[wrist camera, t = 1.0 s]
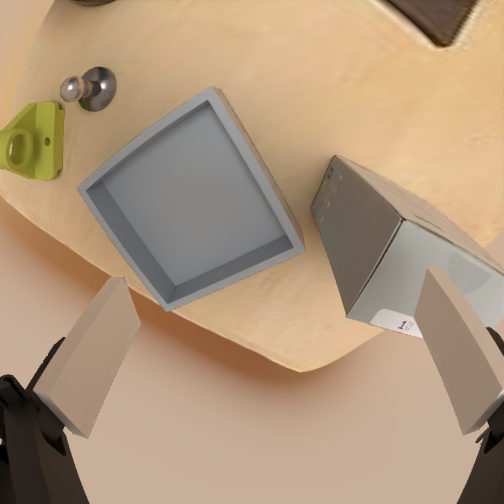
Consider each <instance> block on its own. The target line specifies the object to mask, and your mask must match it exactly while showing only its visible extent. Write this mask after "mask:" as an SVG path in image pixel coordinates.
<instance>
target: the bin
mask: <svg viewBox="0 0 504 504" xmlns="http://www.w3.org/2000/svg"><path fill="white" fill-rule="evenodd" d="M77 190H78V191H79V193H80V195H81V196H82V198H83V199H84V201H85V202H86V204H87V205H88V207H89V209H90V210H91V212H92V213H93V215H94V216H95V218H96V219H97V221H98V222H99V224H100V225H101V226H102V228H103V229H104V231H105V232H106V234H107V235H108V237H109V238H110V239H111V241H112V242H113V244H114V245H115V246H116V248H117V249H118V251H119V252H120V253H121V255H122V256H123V257H124V259H125V260H126V261H127V263H128V264H129V265H130V267H131V268H132V269H133V271H134V272H135V273H136V275H137V276H138V277H139V279H140V280H141V281H142V282H143V284H144V285H145V286H146V288H147V289H148V290H149V291H150V293H151V294H152V295H153V296H154V298H155V299H156V300H157V301H158V302H159V304H160V305H161V306H162V307H163V309H164V310H165V311H166V312H168V311H170V310H173V309H175V308H177V307H180V306H182V305H185V304H187V303H189V302H192V301H194V300H196V299H199V298H201V297H203V296H206V295H208V294H210V293H212V292H215V291H217V290H219V289H222V288H224V287H226V286H229V285H231V284H233V283H235V282H238V281H240V280H242V279H245V278H247V277H249V276H251V275H254V274H256V273H258V272H260V271H263V270H265V269H267V268H269V267H272V266H274V265H276V264H278V263H281V262H283V261H285V260H287V259H290V258H292V257H294V256H296V255H298V254H301V253H303V252H305V251H306V248H305V243H304V238H303V233H302V231H301V229H300V227H299V225H298V223H297V222H296V220H295V218H294V216H293V214H292V212H291V210H290V208H289V207H288V205H287V203H286V201H285V199H284V197H283V195H282V194H281V192H280V190H279V188H278V186H277V185H276V183H275V181H274V179H273V177H272V176H271V174H270V172H269V170H268V168H267V167H266V165H265V163H264V161H263V160H262V158H261V156H260V154H259V153H258V151H257V149H256V147H255V146H254V144H253V142H252V141H251V139H250V137H249V136H248V134H247V132H246V130H245V129H244V127H243V125H242V124H241V122H240V120H239V119H238V117H237V115H236V114H235V112H234V110H233V109H232V107H231V106H230V104H229V102H228V101H227V99H226V97H225V96H224V94H223V93H222V91H221V89H218V88H215V87H212V86H211V87H209V88H208V89H206V90H204V91H203V92H201V93H199V94H198V95H196V96H195V97H193V98H191V99H190V100H188V101H187V102H185V103H184V104H182V105H181V106H179V107H178V108H176V109H175V110H173V111H172V112H170V113H169V114H167V115H166V116H165V117H163V118H162V119H160V120H159V121H157V122H156V123H155V124H153V125H152V126H151V127H149V128H148V129H146V130H145V131H144V132H142V133H141V134H140V135H139V136H137V137H136V138H135V139H133V140H132V141H131V142H129V143H128V144H127V145H126V146H124V147H123V148H122V149H121V150H119V151H118V152H117V153H116V154H115V155H113V156H112V157H111V158H110V159H109V160H107V161H106V162H105V163H104V164H103V165H102V166H100V167H99V168H98V169H97V170H96V171H95V172H94V173H93V174H91V175H90V176H89V177H88V178H87V179H86V180H85V181H84V182H83V183H82V184H81V185H79V186H78V187H77Z"/></svg>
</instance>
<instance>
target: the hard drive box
mask: <svg viewBox="0 0 504 504" xmlns="http://www.w3.org/2000/svg"><path fill="white" fill-rule="evenodd" d="M311 209H312V212H313V215H314V217H315V220H316V223H317V226H318V229H319V231H320V235H321V237H322V240H323V243H324V246H325V249H326V252H327V255H328V258H329V261H330V264H331V267H332V270H333V273H334V276H335V280H336V283H337V286H338V289H339V292H340V296H341V299H342V302H343V306H344V309H345V312H346V318H348V319H352V320H356V321H360V322H363V323H366V324H369V325H372V326H376V327H380V328H383V329H387V330H392V331H395V332H399V333H402V334H406V335H410V336H414V337H418V338H422V339H424V338H423V336H422V334H421V332H420V330H419V328H418V326H417V324H416V322H415V320H414V318H413V316H414V313H415V310H416V306H417V303H418V300H419V296H420V293H421V289H422V286H423V282H424V278H425V274H426V270H427V268H429V267H442V268H443V270H444V271H445V272H446V273H447V275H448V276H449V277H450V279H451V280H452V281H453V282H454V284H455V285H456V286H457V288H458V289H459V290H460V292H461V293H462V294H463V296H464V297H465V299H466V300H467V301H468V303H469V304H470V305H471V307H472V308H473V310H474V311H475V313H476V314H477V316H478V317H479V318H480V320H481V321H482V323H483V324H484V326H485V327H491V328H492V329H493V330H494V329H495V328H496V326H497V325H498V324H499V323H500V321H501V320H502V319H503V317H504V268H503V266H501V265H500V264H499V263H498V262H497V261H496V260H495V259H494V258H493V257H492V256H491V255H490V254H489V253H488V252H487V251H486V250H485V249H484V248H483V247H481V246H480V245H479V244H478V243H477V242H476V241H475V240H474V239H473V238H471V237H470V236H469V235H468V234H467V233H466V232H465V231H463V230H462V229H461V228H460V227H459V226H457V225H456V224H455V223H454V222H453V221H451V220H450V219H449V218H448V217H446V216H445V215H444V214H443V213H441V212H440V211H439V210H438V209H436V208H435V207H434V206H432V205H431V204H429V203H427V202H426V201H424V200H422V199H421V198H419V197H417V196H416V195H414V194H412V193H410V192H408V191H407V190H405V189H403V188H401V187H400V186H398V185H396V184H394V183H392V182H391V181H389V180H387V179H385V178H383V177H381V176H379V175H377V174H375V173H374V172H372V171H370V170H368V169H366V168H364V167H362V166H360V165H358V164H356V163H353V162H351V161H349V160H347V159H345V158H343V157H341V156H339V155H336V156H335V157H333V159H332V161H331V164H330V166H329V168H328V170H327V173H326V175H325V177H324V180H323V182H322V184H321V187H320V189H319V191H318V193H317V196H316V198H315V200H314V203H313V205H312V208H311Z"/></svg>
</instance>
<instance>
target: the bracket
mask: <svg viewBox="0 0 504 504" xmlns="http://www.w3.org/2000/svg"><path fill="white" fill-rule="evenodd" d="M64 115H65V109H63V110H59V105H58V103H57V102H55V101H50V102H39V103H31V104H28V105H26V106H25V107H24V108H23V109H22V110H21V111H20V112H19V113H18V114H17V115H16V116H15V117H14V118H13V120H12V121H11V122H10V123H9V124H8V125H7V126H6V127H5V128H4V129H3V130H1V131H0V169H7V170H9V171H11V172H14V173H16V174H18V175H21V176H23V177H25V178H29V179H37V180H46V181H49V180H52V179H54V178H55V177H56V175H57V171H58V170H60V169H62V168H63V131H64ZM11 142H12V145H13V148H12V153H11V156H9V149H10V145H11Z"/></svg>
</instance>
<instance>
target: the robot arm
mask: <svg viewBox="0 0 504 504" xmlns="http://www.w3.org/2000/svg"><path fill="white" fill-rule="evenodd" d="M71 1H73V2H76V3H78V4H81V5H85V6H97V5H102V4H106V3H109V2H111V1H114V0H71ZM413 318H414V320H415V322H416V324H417V326H418V328H419V330H420V332H421V334H422V336H423V338H424V340H425V342H426V344H427V346H428V349H429V351H430V353H431V355H432V357H433V360H434V362H435V364H436V366H437V369H438V371H439V373H440V376H441V378H442V380H443V383H444V385H445V388H446V390H447V393H448V395H449V398H450V400H451V403H452V406H453V408H454V411H455V414H456V416H457V419H458V422H459V425H460V428H461V431H462V434H463V435H466V434H469V433H471V432H474V431H476V430H479V429H480V428H481V427H482V426H483V425H484V424H485V423H486V421H487V422H488V424H489V428H487V429H486V430H485V431H484V432H483V433H482V434H481V435H480V436H479V437H478V438H477V440H476V442H475V443H478V442H479V441H480V440H481V439H482V438H483V437H484V438H483V441H482V443H481V447H480V450H479V453H478V456H477V458H476V461H475V464H474V466H473V469H472V471H471V474H470V476H469V478H468V481H467V483H466V485H465V487H464V489H463V492H462V494H461V496H460V498H459V500H458V502H457V504H504V342H503V340H502V339H501V337H500V335H499V334H498V333H497V332H495V331H494V330H493V329H492V328H491V327H485V326H484V324H483V323H482V321H481V320H480V318H479V317H478V316H477V314H476V313H475V311H474V310H473V308H472V307H471V305H470V304H469V303H468V301H467V300H466V299H465V297H464V296H463V294H462V293H461V292H460V290H459V289H458V288H457V286H456V285H455V284H454V282H453V281H452V280H451V279H450V277H449V276H448V275H447V273H446V272H445V271H444V270H443V268H442V267H429V268H427V270H426V274H425V278H424V282H423V286H422V289H421V293H420V296H419V300H418V303H417V306H416V310H415V313H414V316H413ZM140 325H141V322H140V320H139V317H138V315H137V312H136V309H135V306H134V304H133V301H132V298H131V296H130V293H129V290H128V287H127V284H126V281H125V278H124V277H110V278H109V279H108V280H107V282H106V283H105V284H104V285H103V287H102V288H101V290H100V291H99V292H98V293H97V295H96V296H95V297H94V299H93V300H92V301H91V303H90V304H89V306H88V307H87V308H86V310H85V311H84V312H83V314H82V315H81V317H80V318H79V319H78V321H77V322H76V324H75V325H74V327H73V328H72V329H71V331H70V332H69V334H68V335H67V337H63V338H62V339H60V340H59V341H58V342H57V343H56V344H54V346H53V347H52V349H51V350H50V352H49V353H48V356H46V358H45V359H44V361H43V364H41V365H40V367H39V368H38V370H37V372H36V373H35V375H34V377H33V378H32V380H31V381H30V383H29V385H28V387H27V388H26V389H24V388H23V387H22V386H21V385H20V383H19V382H18V381H17V379H16V378H15V377H14V376H13V375H9V374H8V375H3V376H1V377H0V438H1V439H2V443H1V445H0V504H89V502H88V499H87V496H86V494H85V492H84V489H83V487H82V484H81V481H80V479H79V476H78V473H77V470H76V467H75V464H74V461H73V458H72V455H71V451H70V448H69V444H68V441H67V437H66V435H65V433H64V432H63V429H64V426H66V427H67V428H68V429H69V430H70V431H71V432H72V433H73V434H76V435H79V436H82V437H84V438H87V439H88V438H89V435H90V433H91V431H92V428H93V426H94V423H95V421H96V419H97V416H98V414H99V412H100V409H101V407H102V405H103V403H104V400H105V398H106V396H107V393H108V391H109V389H110V387H111V385H112V383H113V380H114V378H115V376H116V374H117V372H118V370H119V368H120V365H121V363H122V361H123V359H124V357H125V355H126V353H127V351H128V349H129V347H130V345H131V343H132V341H133V339H134V337H135V335H136V333H137V331H138V329H139V327H140Z"/></svg>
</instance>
